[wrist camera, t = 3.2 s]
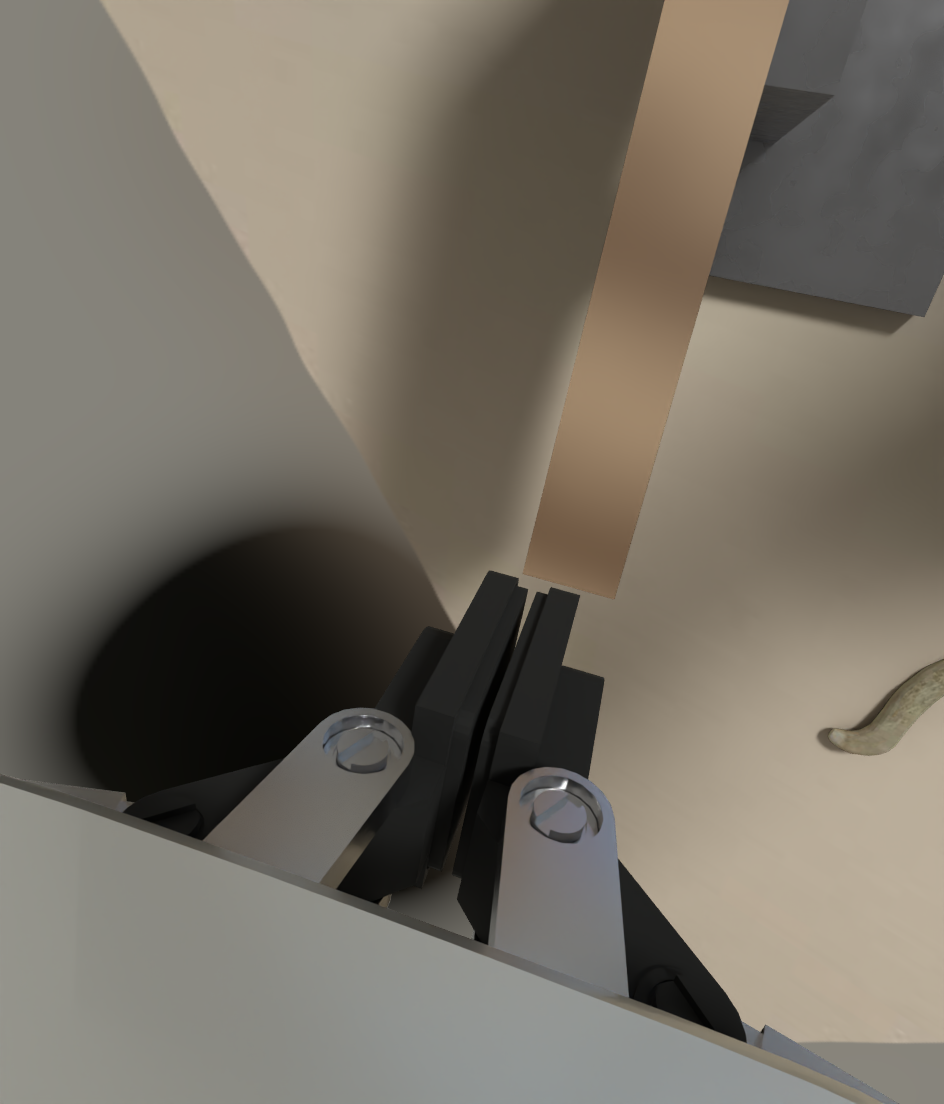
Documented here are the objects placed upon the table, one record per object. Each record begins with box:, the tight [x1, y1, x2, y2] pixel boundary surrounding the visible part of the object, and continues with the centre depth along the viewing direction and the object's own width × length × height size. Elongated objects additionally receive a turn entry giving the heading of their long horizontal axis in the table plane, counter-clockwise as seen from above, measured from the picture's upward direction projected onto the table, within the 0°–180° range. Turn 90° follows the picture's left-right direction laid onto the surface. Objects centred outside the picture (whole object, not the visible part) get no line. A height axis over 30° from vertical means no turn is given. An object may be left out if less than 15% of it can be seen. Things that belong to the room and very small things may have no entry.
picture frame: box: [523, 0, 789, 599], centre depth 22 cm, size 32×3×18 cm, turn 171°
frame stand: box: [709, 0, 944, 317], centre depth 27 cm, size 16×12×19 cm
